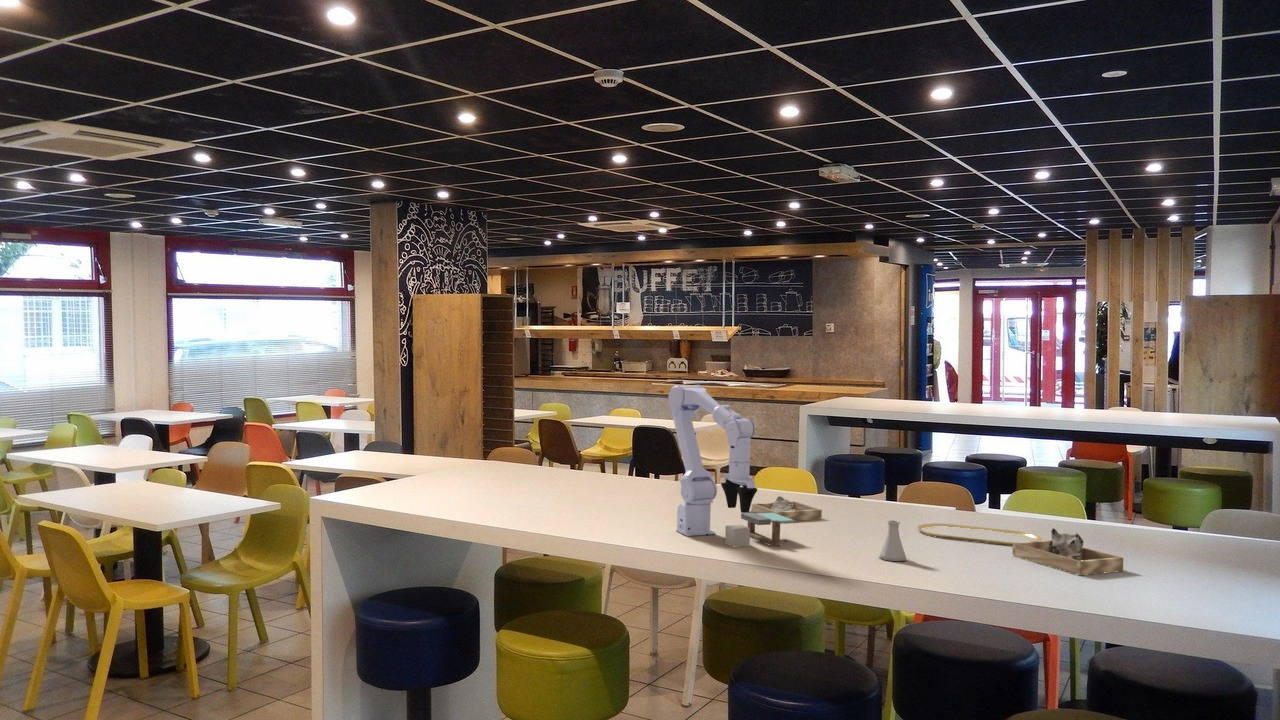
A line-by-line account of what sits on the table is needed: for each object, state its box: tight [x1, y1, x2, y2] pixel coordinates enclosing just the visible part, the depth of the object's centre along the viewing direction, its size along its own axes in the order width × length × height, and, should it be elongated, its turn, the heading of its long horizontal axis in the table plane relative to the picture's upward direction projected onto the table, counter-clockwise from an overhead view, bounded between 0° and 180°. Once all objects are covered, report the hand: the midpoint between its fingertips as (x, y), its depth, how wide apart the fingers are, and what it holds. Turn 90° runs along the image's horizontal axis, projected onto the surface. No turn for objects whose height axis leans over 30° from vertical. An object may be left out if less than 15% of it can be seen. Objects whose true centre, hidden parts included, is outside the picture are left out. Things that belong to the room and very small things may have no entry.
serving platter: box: [917, 523, 1043, 546], centre depth 267 cm, size 19×35×2 cm, turn 64°
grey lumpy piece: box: [1049, 528, 1084, 561], centre depth 235 cm, size 16×9×10 cm, turn 160°
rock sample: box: [771, 496, 797, 512], centre depth 293 cm, size 10×8×9 cm
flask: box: [878, 519, 907, 562], centre depth 236 cm, size 7×7×10 cm
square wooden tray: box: [750, 501, 823, 522], centre depth 293 cm, size 17×16×3 cm
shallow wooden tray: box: [1011, 539, 1124, 576], centre depth 235 cm, size 15×22×4 cm
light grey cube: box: [724, 524, 751, 547], centre depth 249 cm, size 5×5×5 cm
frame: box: [747, 510, 782, 547], centre depth 255 cm, size 3×17×7 cm, turn 22°
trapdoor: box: [740, 512, 795, 526], centre depth 256 cm, size 11×12×2 cm
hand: (738, 510), depth 249 cm, fingers open, 7 cm apart
